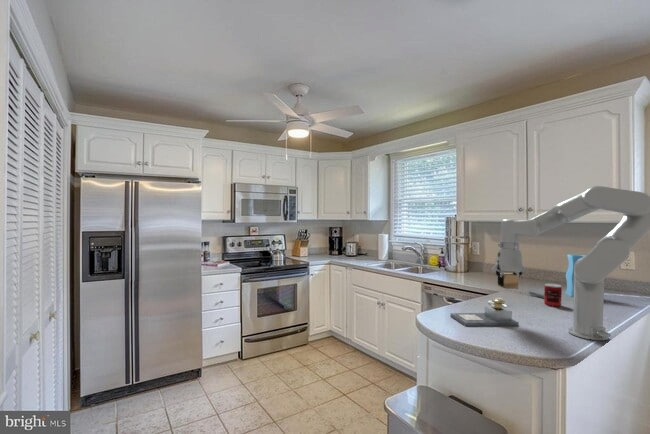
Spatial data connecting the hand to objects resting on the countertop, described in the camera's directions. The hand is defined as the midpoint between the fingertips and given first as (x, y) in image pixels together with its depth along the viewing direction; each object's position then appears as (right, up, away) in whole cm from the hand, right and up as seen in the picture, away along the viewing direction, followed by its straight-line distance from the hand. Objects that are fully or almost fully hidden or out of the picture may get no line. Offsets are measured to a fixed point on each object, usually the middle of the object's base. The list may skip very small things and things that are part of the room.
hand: (507, 285), depth 151 cm
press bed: (-12, -16, -1) cm, 20 cm away
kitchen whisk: (+43, -17, +52) cm, 70 cm away
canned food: (+41, -17, +29) cm, 53 cm away
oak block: (0, -1, 0) cm, 1 cm away
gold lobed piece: (-5, -11, -1) cm, 12 cm away
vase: (+71, -18, +51) cm, 89 cm away
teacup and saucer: (+11, -17, +30) cm, 36 cm away
